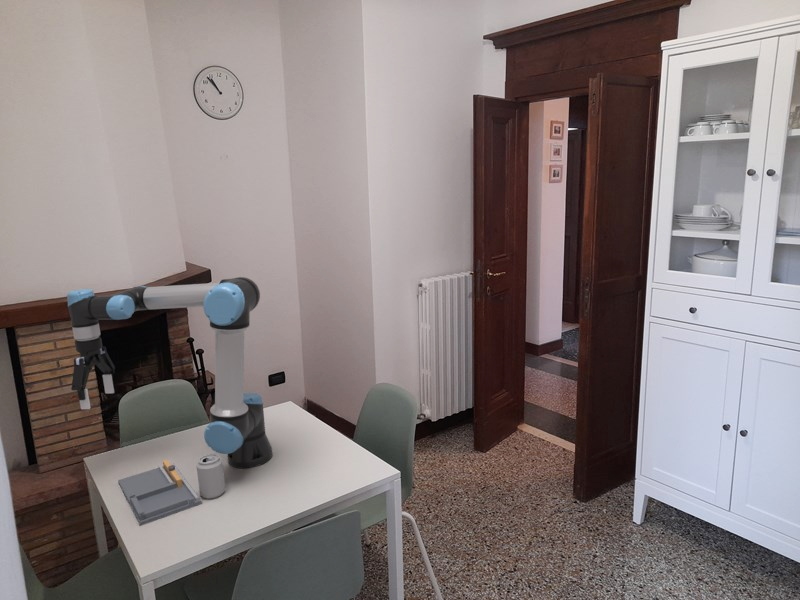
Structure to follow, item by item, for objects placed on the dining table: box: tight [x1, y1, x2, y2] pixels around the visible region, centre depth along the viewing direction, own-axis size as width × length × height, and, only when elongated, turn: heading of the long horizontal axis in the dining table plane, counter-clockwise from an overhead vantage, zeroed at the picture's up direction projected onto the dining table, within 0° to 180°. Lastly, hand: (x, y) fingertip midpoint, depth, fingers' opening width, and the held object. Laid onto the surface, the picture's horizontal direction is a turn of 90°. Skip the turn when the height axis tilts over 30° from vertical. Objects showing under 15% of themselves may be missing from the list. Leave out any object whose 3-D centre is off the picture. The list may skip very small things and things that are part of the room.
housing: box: [118, 461, 203, 527], centre depth 177 cm, size 30×17×2 cm, turn 36°
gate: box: [162, 459, 182, 487], centre depth 185 cm, size 17×2×3 cm, turn 36°
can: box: [196, 453, 226, 500], centre depth 175 cm, size 8×8×12 cm
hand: (98, 400), depth 186 cm, fingers open, 13 cm apart
